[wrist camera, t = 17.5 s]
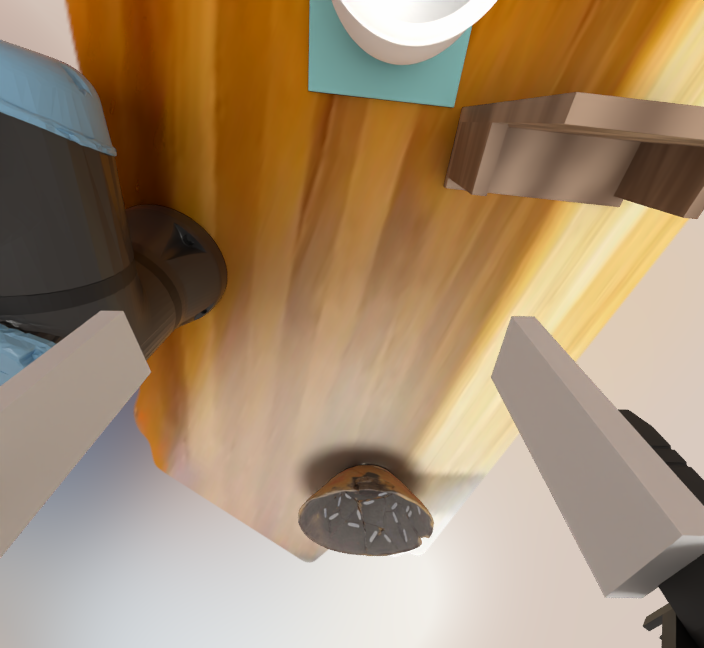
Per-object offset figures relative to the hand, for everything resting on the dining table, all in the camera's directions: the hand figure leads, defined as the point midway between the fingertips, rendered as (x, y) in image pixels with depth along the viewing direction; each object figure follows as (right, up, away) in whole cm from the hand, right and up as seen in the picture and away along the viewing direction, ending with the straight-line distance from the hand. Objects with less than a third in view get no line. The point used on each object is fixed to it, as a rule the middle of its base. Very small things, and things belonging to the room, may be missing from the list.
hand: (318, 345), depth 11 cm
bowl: (+4, -31, +55) cm, 63 cm away
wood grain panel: (+21, +18, +22) cm, 35 cm away
